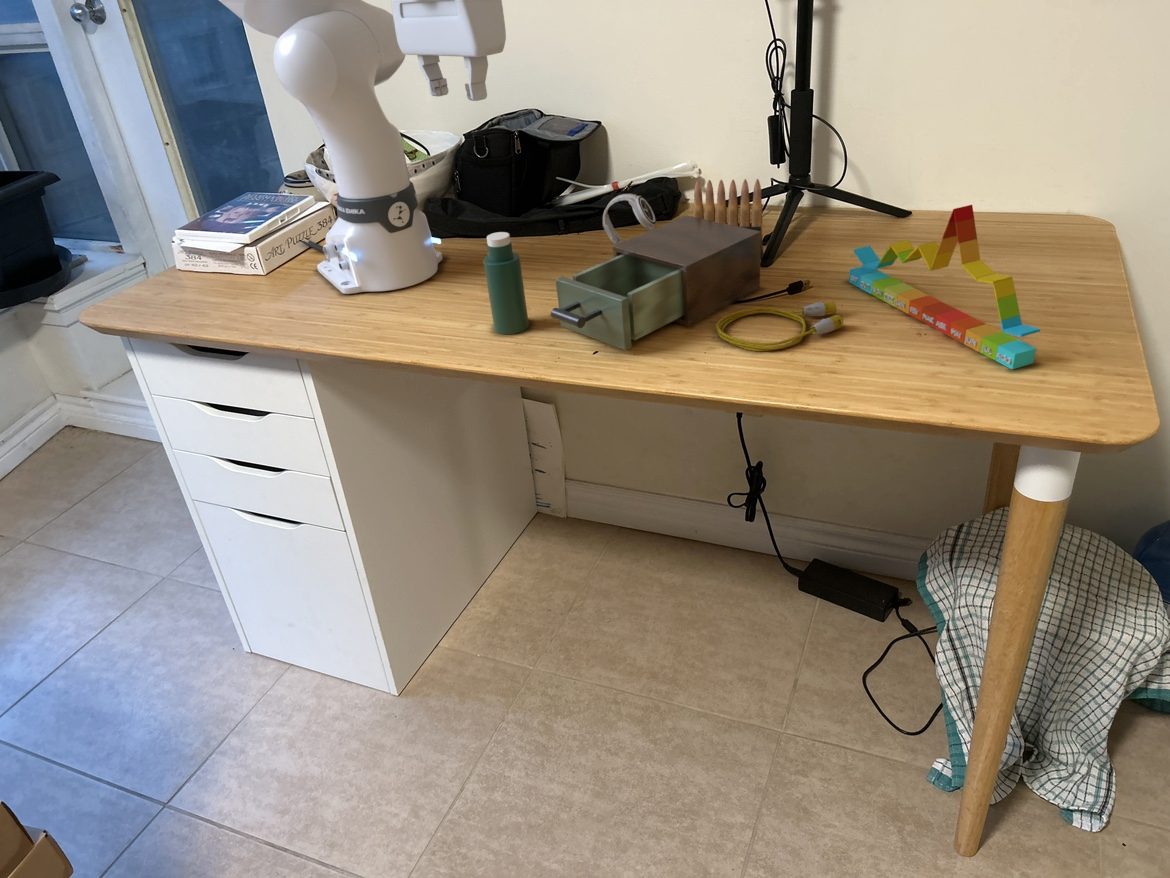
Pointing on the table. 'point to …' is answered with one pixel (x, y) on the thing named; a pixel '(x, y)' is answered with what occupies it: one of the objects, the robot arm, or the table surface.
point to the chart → (940, 313)
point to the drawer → (620, 299)
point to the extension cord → (810, 310)
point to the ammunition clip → (731, 206)
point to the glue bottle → (505, 285)
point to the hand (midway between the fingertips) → (458, 97)
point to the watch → (640, 211)
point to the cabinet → (702, 261)
